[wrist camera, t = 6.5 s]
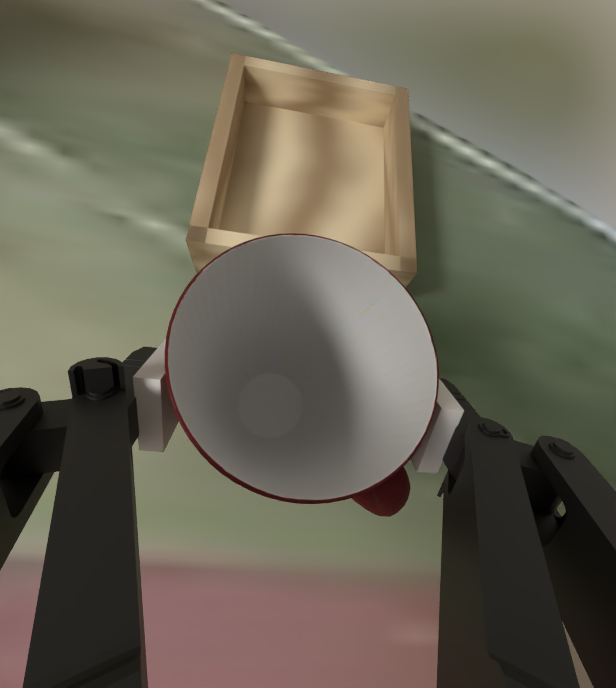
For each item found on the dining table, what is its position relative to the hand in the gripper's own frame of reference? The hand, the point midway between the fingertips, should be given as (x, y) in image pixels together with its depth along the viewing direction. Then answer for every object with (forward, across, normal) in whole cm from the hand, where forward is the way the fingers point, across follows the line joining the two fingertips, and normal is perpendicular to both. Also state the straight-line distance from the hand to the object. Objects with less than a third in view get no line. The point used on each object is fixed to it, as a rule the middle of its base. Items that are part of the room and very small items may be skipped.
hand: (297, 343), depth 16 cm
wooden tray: (+12, 0, +7) cm, 14 cm away
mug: (0, 0, -5) cm, 5 cm away
